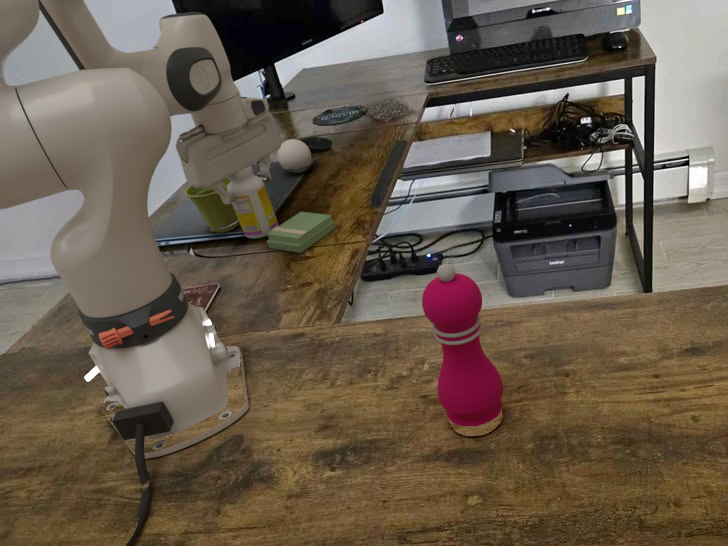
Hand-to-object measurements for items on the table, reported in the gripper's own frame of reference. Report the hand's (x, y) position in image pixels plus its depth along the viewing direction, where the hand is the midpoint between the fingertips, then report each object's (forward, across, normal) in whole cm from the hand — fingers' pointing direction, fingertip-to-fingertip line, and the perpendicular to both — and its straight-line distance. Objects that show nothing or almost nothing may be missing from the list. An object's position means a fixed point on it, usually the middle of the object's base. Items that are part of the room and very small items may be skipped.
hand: (248, 191), depth 124 cm
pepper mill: (+8, -32, -66) cm, 74 cm away
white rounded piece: (+8, +27, +16) cm, 33 cm away
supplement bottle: (+8, 0, 0) cm, 8 cm away
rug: (+8, +67, +20) cm, 70 cm away
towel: (+8, 0, -10) cm, 13 cm away
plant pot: (+8, 0, +10) cm, 13 cm away
